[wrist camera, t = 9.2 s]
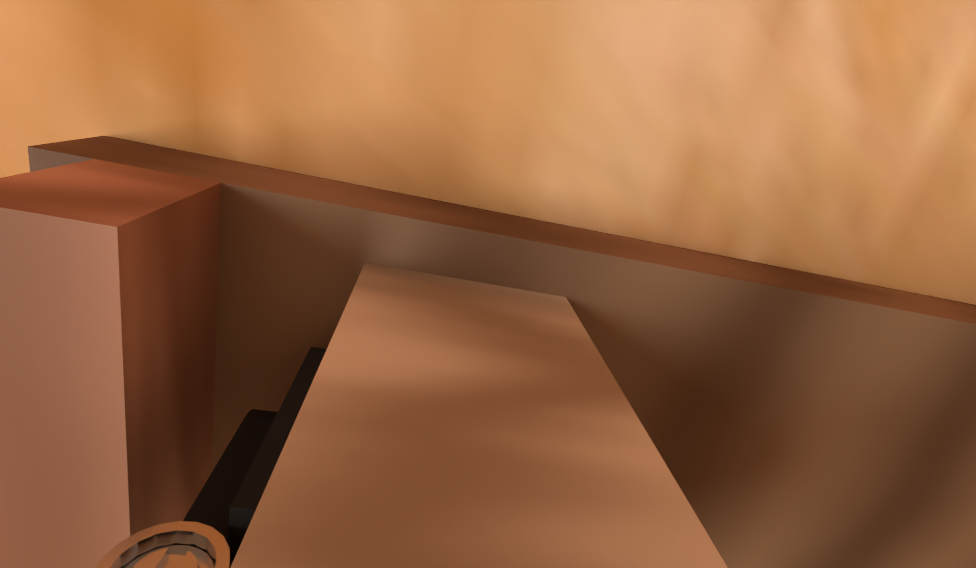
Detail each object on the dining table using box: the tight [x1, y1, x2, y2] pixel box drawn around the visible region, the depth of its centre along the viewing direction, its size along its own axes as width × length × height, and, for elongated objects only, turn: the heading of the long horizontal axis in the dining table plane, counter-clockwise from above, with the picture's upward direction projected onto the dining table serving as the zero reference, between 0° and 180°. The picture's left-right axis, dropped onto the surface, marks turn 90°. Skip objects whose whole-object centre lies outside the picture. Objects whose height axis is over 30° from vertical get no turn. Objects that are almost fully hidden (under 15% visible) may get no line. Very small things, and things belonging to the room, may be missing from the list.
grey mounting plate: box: [0, 136, 976, 568], centre depth 12 cm, size 28×12×5 cm, turn 78°
